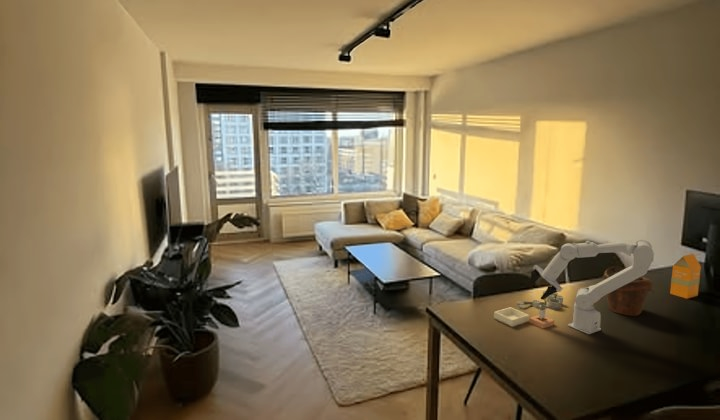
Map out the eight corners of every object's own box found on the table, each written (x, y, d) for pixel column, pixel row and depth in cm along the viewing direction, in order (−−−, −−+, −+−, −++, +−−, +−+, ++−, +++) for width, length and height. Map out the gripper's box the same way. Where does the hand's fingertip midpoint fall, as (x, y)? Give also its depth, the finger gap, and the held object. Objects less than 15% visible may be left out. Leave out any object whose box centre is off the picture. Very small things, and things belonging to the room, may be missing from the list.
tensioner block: (554, 324, 177) (554, 320, 177) (543, 328, 174) (543, 324, 173) (540, 318, 183) (540, 314, 183) (528, 322, 180) (529, 317, 179)
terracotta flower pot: (651, 322, 177) (654, 281, 174) (596, 311, 189) (599, 273, 186) (653, 309, 191) (657, 270, 188) (603, 299, 203) (605, 263, 200)
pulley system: (576, 304, 200) (547, 293, 212) (577, 295, 199) (548, 284, 211) (540, 320, 186) (512, 307, 198) (541, 310, 185) (512, 298, 197)
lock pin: (547, 324, 178) (548, 306, 176) (542, 325, 176) (543, 307, 175) (540, 321, 180) (541, 303, 179) (535, 322, 179) (536, 305, 178)
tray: (528, 321, 180) (529, 314, 180) (512, 327, 176) (512, 320, 175) (510, 313, 189) (510, 307, 189) (493, 318, 184) (494, 311, 184)
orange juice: (669, 293, 208) (673, 254, 205) (680, 290, 212) (684, 251, 208) (687, 298, 201) (692, 258, 198) (698, 295, 205) (702, 255, 201)
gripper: (536, 256, 179) (518, 280, 184) (563, 280, 168) (543, 304, 174) (546, 257, 183) (528, 281, 188) (572, 280, 173) (552, 304, 178)
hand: (535, 292), depth 181 cm, fingers open, 7 cm apart
